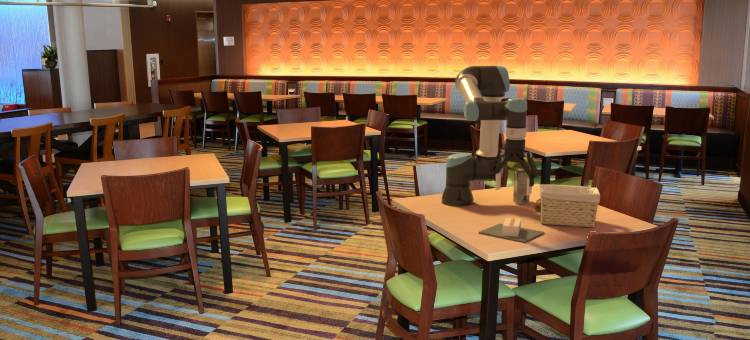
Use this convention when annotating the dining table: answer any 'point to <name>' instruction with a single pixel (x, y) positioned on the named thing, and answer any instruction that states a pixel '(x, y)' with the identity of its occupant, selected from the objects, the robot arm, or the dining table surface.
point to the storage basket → (569, 205)
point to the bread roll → (538, 205)
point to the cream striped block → (511, 227)
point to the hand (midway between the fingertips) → (513, 191)
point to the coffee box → (520, 187)
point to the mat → (523, 236)
